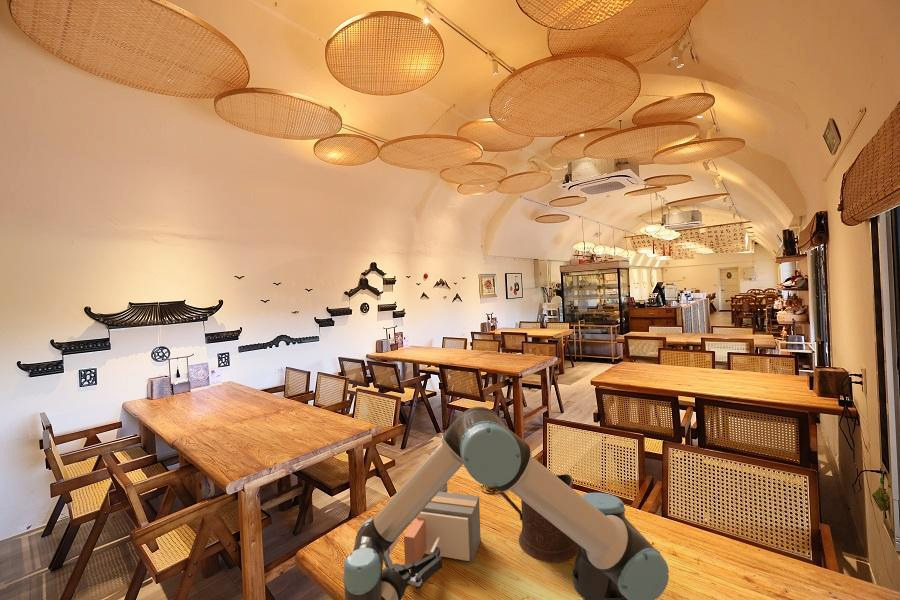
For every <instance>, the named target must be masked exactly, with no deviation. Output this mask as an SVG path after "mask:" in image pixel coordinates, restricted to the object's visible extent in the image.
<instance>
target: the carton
mask: <svg viewBox="0 0 900 600" xmlns="http://www.w3.org/2000/svg"><path fill="white" fill-rule="evenodd" d="M422 511H423V512H430V513H438V514H445V515H452V516H460V517H467V518H468V523H469V548H470V560H469V561H468V562H473V563H474V562H475V559H476V556H477V553H478V550H479V547H480V543H481V540H482V539H481V516H480V515H481V513H480V511H481V510H480V495H471V494H463V493H454V492H448V493H447V492H438V493H437V494H436V495H435V497H434V498H433V499H432V500H431V501H430V502H429V503H428V504H427V505H426V507H425V508H424V509H423V510H422ZM424 555H425V553H424ZM446 558H448V557H446ZM452 559H454V558H452ZM454 560H455V559H454ZM458 560H460V559H458ZM464 561H466V560H464Z"/></svg>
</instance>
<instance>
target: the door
mask: <svg viewBox="0 0 900 600" xmlns="http://www.w3.org/2000/svg"><path fill="white" fill-rule="evenodd" d="M438 537H440V544H441V547H440V555H439V556H441V557H443V558H447V557H448V558H449V559H453V558H454V560H459V559H460V560H461V561H465V560H466V561H467V562H470V561H469V560H470V548H469V523H468V518H467V517H460V516H452V515H445V514H438V513H430V512H423V511H421V512H420V513H419V514H418V516H417V517H416V518H415V519H414V520H413V521H412V522H411V524H410V525H409V528H408V530H407V531H406V532H405V534H404V536H403V546H404V565H408V564H410V563H413V564H414V563H416V562H417V561H419V560H421V559H423V558H424V555H425V554H426V555H430V551H431V549H432V547H433V545H434V543H435V541H436V539H437V538H438ZM424 553H425V554H424Z"/></svg>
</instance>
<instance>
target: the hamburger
mask: <svg viewBox="0 0 900 600" xmlns="http://www.w3.org/2000/svg"><path fill="white" fill-rule="evenodd" d="M483 487H484V489H485V488H486V489H487V490H486V489H485V490H486V491H488V490H495V489H496V488H494V487H490V486H486V485H484V486H483ZM496 490H497V489H496ZM496 490H495V491H496ZM498 493H499V491H497V492H496V494H498Z"/></svg>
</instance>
